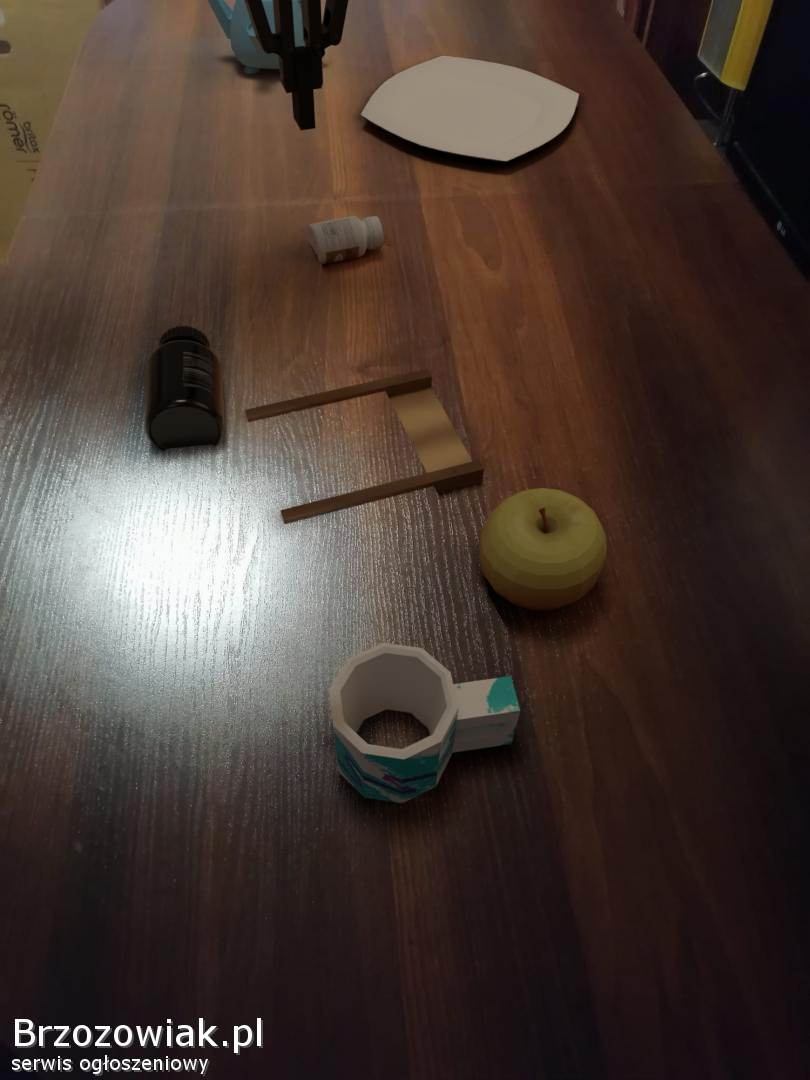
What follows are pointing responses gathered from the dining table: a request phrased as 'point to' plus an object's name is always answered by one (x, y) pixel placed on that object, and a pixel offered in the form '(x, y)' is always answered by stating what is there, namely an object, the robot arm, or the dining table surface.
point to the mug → (428, 694)
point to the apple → (542, 549)
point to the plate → (472, 108)
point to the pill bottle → (345, 237)
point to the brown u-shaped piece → (422, 426)
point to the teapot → (252, 32)
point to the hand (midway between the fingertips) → (304, 122)
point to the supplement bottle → (184, 392)
